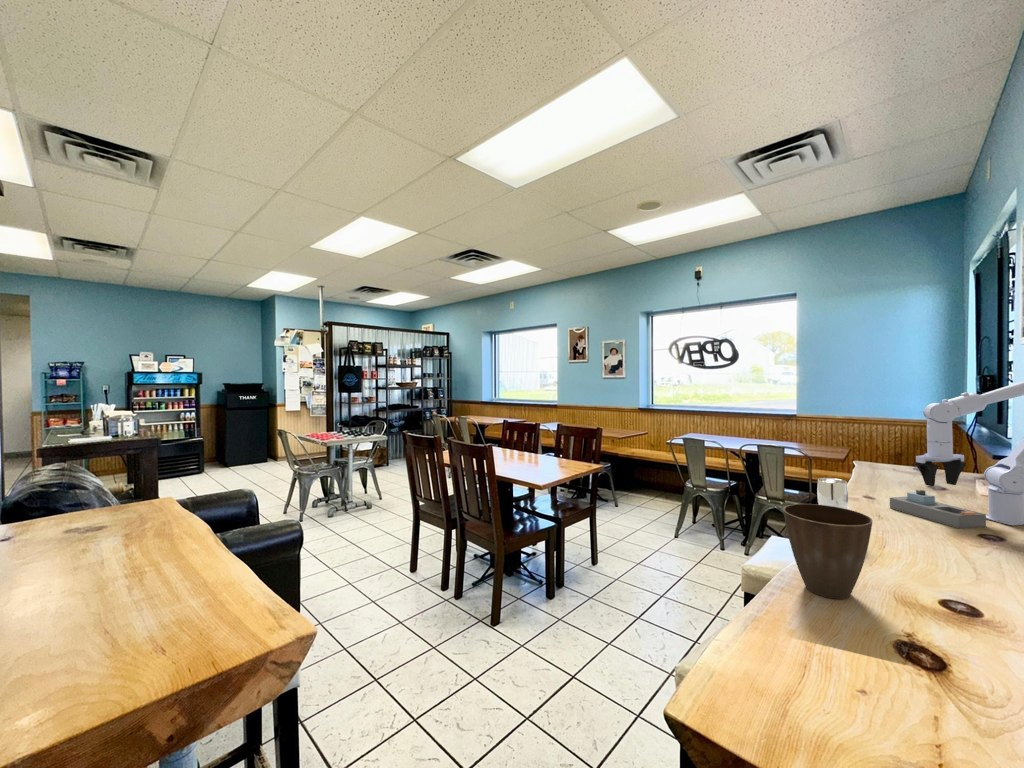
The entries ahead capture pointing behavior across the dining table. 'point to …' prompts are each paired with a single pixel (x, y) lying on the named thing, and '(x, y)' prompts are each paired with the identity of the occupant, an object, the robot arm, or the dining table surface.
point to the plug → (921, 497)
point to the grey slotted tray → (940, 513)
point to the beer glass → (832, 492)
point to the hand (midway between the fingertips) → (940, 485)
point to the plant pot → (828, 546)
